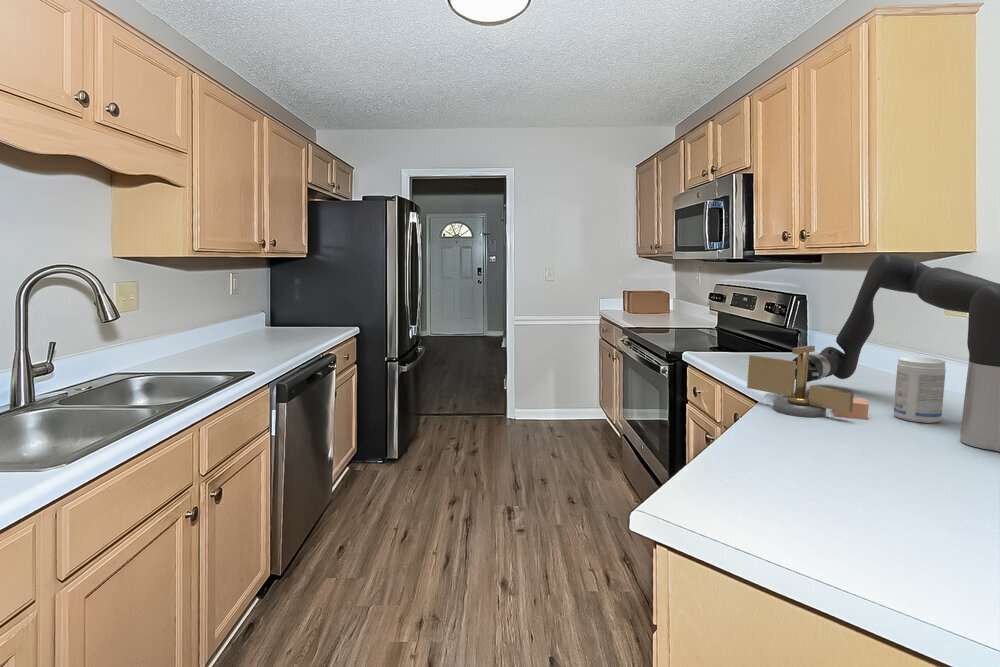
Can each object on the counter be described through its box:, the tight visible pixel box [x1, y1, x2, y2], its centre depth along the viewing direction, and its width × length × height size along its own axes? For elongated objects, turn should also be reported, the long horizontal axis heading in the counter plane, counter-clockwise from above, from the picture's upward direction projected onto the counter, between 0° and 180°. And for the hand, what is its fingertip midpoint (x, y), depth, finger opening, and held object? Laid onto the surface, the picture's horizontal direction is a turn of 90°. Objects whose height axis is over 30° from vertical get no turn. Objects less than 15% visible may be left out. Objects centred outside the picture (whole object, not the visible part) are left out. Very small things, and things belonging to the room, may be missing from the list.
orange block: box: [831, 397, 870, 420], centre depth 145 cm, size 7×7×4 cm
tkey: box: [746, 345, 855, 413], centre depth 147 cm, size 26×9×14 cm, turn 37°
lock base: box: [772, 397, 827, 418], centre depth 147 cm, size 12×12×2 cm
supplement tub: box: [893, 356, 946, 424], centre depth 141 cm, size 10×10×15 cm
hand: (779, 373), depth 155 cm, fingers closed
